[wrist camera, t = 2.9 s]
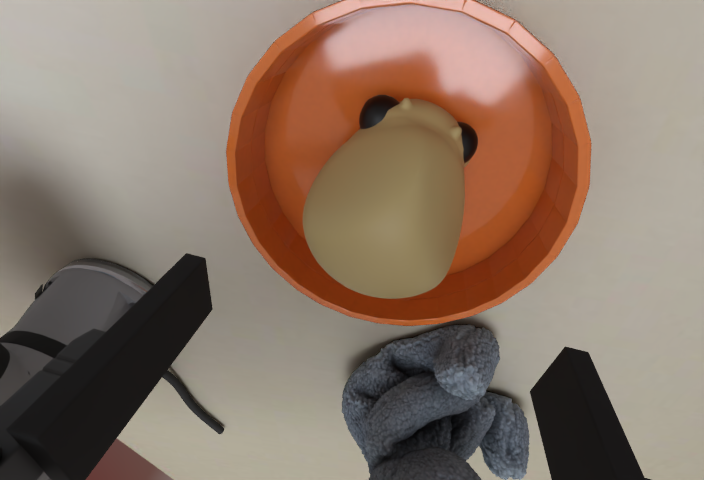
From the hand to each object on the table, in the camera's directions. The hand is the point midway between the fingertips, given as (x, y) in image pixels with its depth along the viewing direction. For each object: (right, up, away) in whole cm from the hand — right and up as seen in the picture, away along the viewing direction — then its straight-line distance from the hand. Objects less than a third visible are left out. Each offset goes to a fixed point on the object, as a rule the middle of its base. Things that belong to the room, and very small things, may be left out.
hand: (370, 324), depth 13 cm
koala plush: (+7, -12, +25) cm, 29 cm away
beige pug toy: (+3, +8, +12) cm, 15 cm away
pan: (+3, +8, +12) cm, 15 cm away
